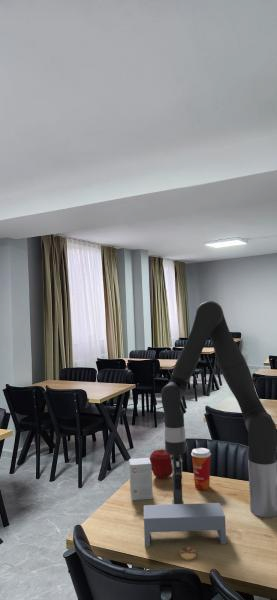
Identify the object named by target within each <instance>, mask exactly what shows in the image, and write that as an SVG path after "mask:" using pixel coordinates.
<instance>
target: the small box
mask: <svg viewBox="0 0 277 600" xmlns="http://www.w3.org/2000/svg"><path fill="white" fill-rule="evenodd" d="M128 463H129V464H128V465H129V466H128V467H129V493H130V498H131V501H139V500H140V501H141V500H152V499H154V495H153V494H154V493H153V472H152V465H151V461H150V457H142V458H141V457H140V458H129V459H128Z"/></svg>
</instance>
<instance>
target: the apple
mask: <svg viewBox="0 0 277 600" xmlns="http://www.w3.org/2000/svg"><path fill="white" fill-rule="evenodd" d="M170 456H172V455H171V454H168V453H167V452H166V451H165V449H161V448H160V449H156V450H153V451H152V452H151V454H150V456H149V459H150V461H151V465H152V475H153V476H155V477H156V478H157V479H159V480H165V479H168V478H170V476H171V475H172V472H173V471H172V465H171V459H170Z"/></svg>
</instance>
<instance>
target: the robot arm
mask: <svg viewBox="0 0 277 600" xmlns="http://www.w3.org/2000/svg"><path fill="white" fill-rule="evenodd" d="M208 339H210V341H211V343H212V346H213V351H214V355H215V358H216V362H217V364H218V367H219V370H220V371H221V374H222V376H223V378H224V380H225V383H226V384H227V386H228V388H229V390H230V392H231V393H232V395H233V396H234V399H236V403H237V404H238V406H239V408H240V411H241V415H242V418H243V420H244V425H245V428H246V430H247V434H248V435H247V437H248V450H247V463H248V483H249V506H250V507H249V508H250V509H249V510H250V512H251V513H252V514H254V515H255V516H257V517H259V518H260V517H261V518H274V517H277V426H276V424H275V423H276V422H275V421H274V420H273V419H272V417H271V416H270V414H268V412H267V410H266V409H265V407H264V405H263V403H262V402H261V399H260V398H259V396H258V394H257V391H256V387H255V382H254V379H253V376H252V372H251V370H250V367H249V365H248V364H247V361H246V359H245V356H243V354H242V352H241V349H240V348H239V346H238V344H237V342H236V341H235V339H234V338H233V336H232V334H231V331H230V329H229V326H228V324H227V321H226V318H225V314H224V311H223V308H222V306H221V305H220V304H219V303H218V302H217V301H214V300H207V301H204V302H202V303H200V304H199V305H198V306H197V308H196V311H195V316H194V321H193V324H192V328H191V330H190V333H189V336H188V337H187V340H186V341H185V344H184V345H183V347H182V350H181V351H180V354H179V355H178V357H177V360H176V362H175V364H174V367H173V369H172V375H171V377H170V379H169V381H168V383H167V384H166V385H164V386H163V387H162V389H161V404H162V409H163V413H164V450H165V451H166V452H167V453H168V454H171V455H172V456H170V459H171V465H172V471H173V472H174V478H175V489H176V490H181V489H182V490H183V484H182V485H181V479H183V464H182V463H183V457H182V454H185V453H186V452H187V443H186V442H187V441H186V439H187V438H186V429H185V417H184V416H185V415H184V410H182V405H181V399H182V398H183V396H184V395H185V393H186V391H187V389H188V386H189V381H190V379H191V378H192V376H193V373H194V372H195V369H196V367H197V365H198V363H199V360H200V357H201V355H202V353H203V350H204V348H205V345H206V343H207V341H208ZM176 472H180V475H176Z"/></svg>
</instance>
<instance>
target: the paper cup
mask: <svg viewBox="0 0 277 600" xmlns="http://www.w3.org/2000/svg"><path fill="white" fill-rule="evenodd" d="M190 455H191V459H192V469H193V479H194V481H193V482H194V487H195V489H197V490H199V491H200V490H201V491H206V490H209V489H210V482H211V481H210V480H211V479H210V478H211V471H210V469H211V455H212V453H211V452H210V449H208V448H205V447H198V448H193V449H192V450H191V454H190Z"/></svg>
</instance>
